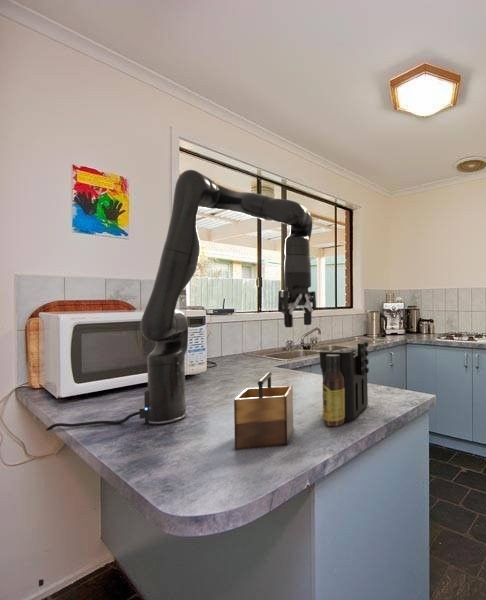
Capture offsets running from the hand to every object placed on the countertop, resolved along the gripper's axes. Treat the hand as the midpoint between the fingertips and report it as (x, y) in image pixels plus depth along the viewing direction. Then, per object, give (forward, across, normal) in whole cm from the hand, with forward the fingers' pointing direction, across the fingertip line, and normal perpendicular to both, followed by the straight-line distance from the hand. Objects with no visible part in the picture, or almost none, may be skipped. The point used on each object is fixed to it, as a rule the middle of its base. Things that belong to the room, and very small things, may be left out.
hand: (298, 326), depth 97 cm
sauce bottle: (+28, -1, +12) cm, 30 cm away
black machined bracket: (+28, -11, +11) cm, 32 cm away
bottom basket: (+28, +14, 0) cm, 31 cm away
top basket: (+22, +14, 0) cm, 26 cm away
